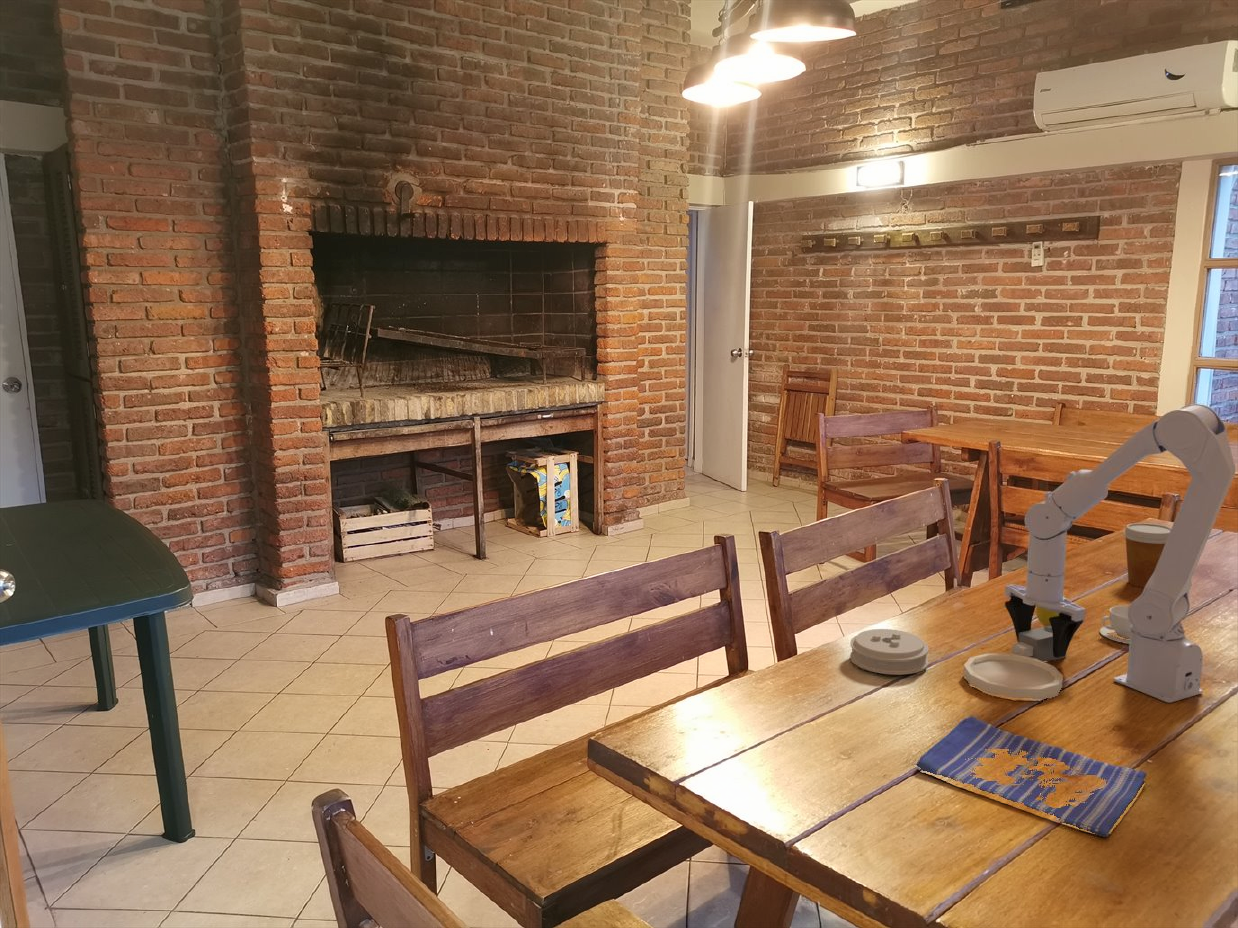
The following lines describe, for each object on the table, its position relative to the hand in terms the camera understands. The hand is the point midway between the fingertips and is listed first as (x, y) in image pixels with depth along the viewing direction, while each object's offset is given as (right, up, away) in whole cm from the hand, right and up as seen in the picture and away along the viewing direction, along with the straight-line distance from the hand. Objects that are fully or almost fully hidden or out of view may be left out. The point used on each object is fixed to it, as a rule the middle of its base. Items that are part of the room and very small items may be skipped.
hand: (1040, 648), depth 155 cm
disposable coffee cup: (+39, +6, +37) cm, 54 cm away
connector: (0, -2, 0) cm, 2 cm away
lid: (-26, -3, 0) cm, 26 cm away
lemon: (+8, +1, +12) cm, 15 cm away
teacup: (+20, 0, +9) cm, 22 cm away
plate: (-9, -4, -9) cm, 13 cm away
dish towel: (-19, -10, -37) cm, 43 cm away
